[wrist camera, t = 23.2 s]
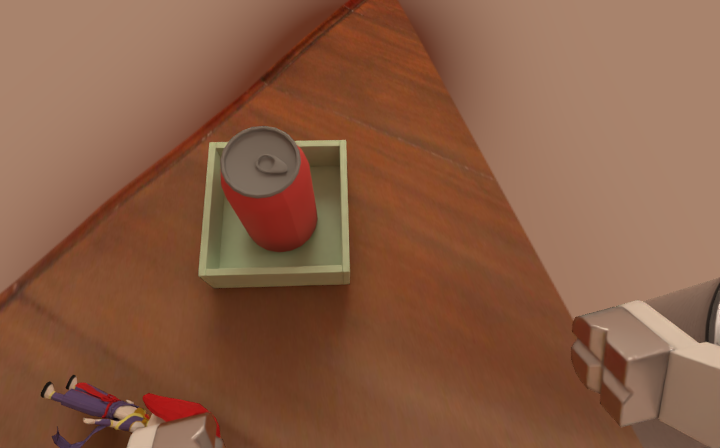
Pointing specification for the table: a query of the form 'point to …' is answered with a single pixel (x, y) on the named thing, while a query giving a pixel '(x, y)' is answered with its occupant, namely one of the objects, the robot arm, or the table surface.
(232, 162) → the beer can
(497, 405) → the table surface
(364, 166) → the table surface
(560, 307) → the table surface
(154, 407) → the figurine
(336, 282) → the tub
